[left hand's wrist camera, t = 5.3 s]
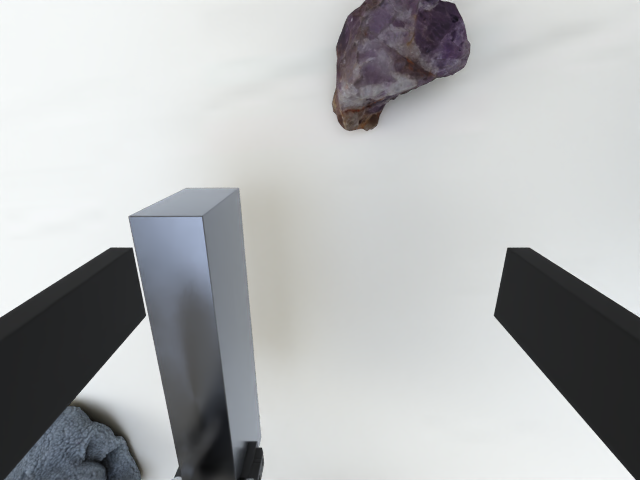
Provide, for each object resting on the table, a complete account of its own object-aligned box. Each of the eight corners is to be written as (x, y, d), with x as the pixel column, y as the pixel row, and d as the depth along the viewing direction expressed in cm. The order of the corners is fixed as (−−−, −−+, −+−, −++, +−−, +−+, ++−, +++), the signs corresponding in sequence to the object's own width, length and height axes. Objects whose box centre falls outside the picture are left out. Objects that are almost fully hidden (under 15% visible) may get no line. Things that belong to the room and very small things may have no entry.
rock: (444, 89, 36) (408, -15, 32) (495, 76, 27) (454, -65, 24) (343, 142, 36) (298, 44, 33) (364, 145, 28) (307, 15, 24)
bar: (185, 187, 28) (127, 215, 20) (239, 187, 28) (202, 215, 20) (220, 436, 37) (190, 524, 29) (261, 436, 37) (242, 525, 29)
